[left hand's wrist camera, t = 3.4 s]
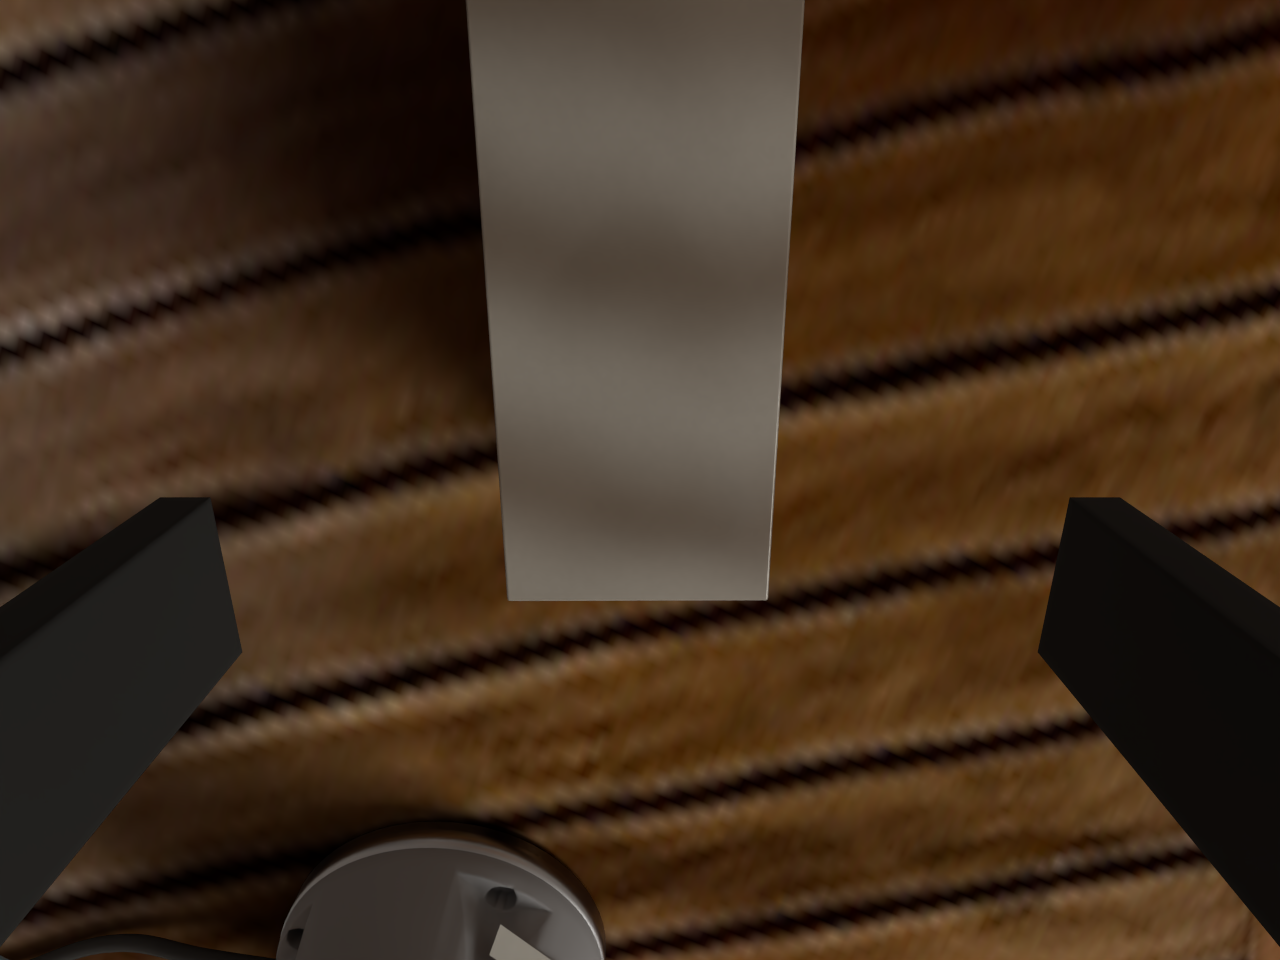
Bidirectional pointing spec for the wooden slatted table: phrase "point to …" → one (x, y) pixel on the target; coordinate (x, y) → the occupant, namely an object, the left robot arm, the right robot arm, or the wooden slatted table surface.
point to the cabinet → (636, 287)
